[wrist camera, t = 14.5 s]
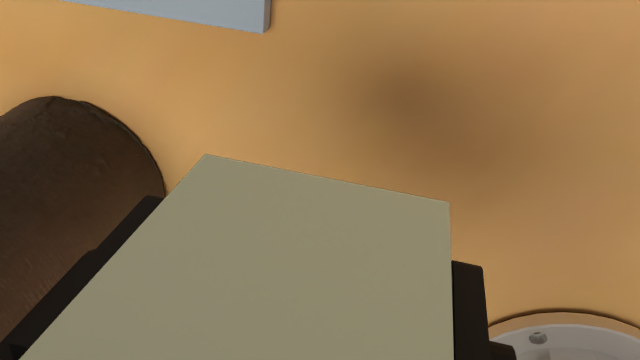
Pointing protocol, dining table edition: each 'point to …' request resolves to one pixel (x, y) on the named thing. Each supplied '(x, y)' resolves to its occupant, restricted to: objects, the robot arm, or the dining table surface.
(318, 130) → the dining table surface
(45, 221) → the pillar candle
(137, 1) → the blueprint board
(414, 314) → the green block
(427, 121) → the dining table surface
